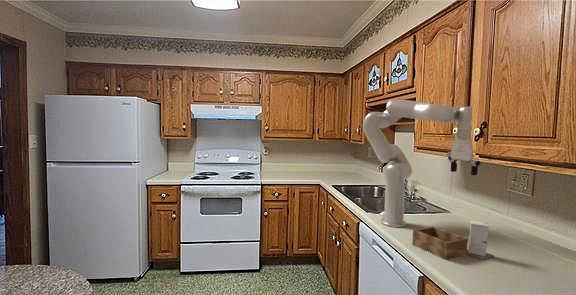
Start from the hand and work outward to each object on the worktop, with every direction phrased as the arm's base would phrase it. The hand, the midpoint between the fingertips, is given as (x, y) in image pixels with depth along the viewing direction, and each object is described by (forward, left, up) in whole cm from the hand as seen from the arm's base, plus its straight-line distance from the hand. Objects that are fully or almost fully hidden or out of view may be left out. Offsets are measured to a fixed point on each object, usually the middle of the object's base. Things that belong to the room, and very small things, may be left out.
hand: (463, 173), depth 139 cm
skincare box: (+14, -10, -30) cm, 34 cm away
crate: (+5, -20, -30) cm, 36 cm away
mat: (+15, -10, -30) cm, 35 cm away
